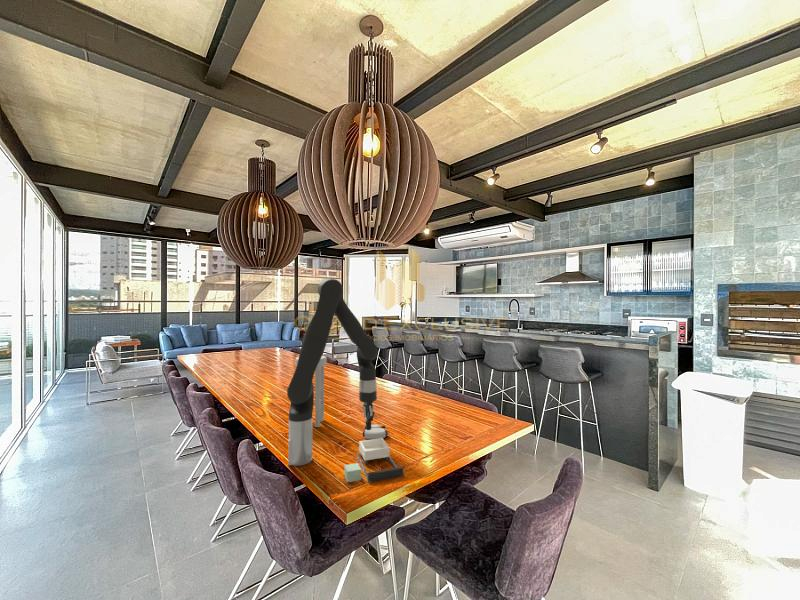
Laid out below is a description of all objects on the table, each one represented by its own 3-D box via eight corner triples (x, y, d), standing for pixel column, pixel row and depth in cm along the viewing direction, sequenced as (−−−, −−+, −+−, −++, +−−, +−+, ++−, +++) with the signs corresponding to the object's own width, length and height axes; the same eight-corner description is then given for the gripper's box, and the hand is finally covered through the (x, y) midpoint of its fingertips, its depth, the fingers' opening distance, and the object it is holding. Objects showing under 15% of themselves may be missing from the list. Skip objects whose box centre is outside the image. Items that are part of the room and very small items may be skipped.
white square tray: (364, 465, 128) (364, 451, 128) (359, 454, 137) (359, 441, 137) (389, 461, 131) (389, 447, 131) (382, 451, 141) (382, 437, 141)
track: (368, 485, 116) (368, 474, 116) (355, 458, 137) (355, 448, 137) (403, 479, 120) (403, 468, 120) (385, 453, 141) (385, 443, 141)
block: (346, 486, 116) (346, 471, 116) (344, 478, 121) (344, 465, 121) (361, 483, 118) (361, 469, 118) (358, 476, 123) (358, 462, 123)
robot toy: (362, 432, 166) (361, 443, 151) (362, 423, 166) (361, 432, 151) (387, 432, 167) (388, 442, 152) (387, 422, 167) (388, 432, 152)
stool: (291, 429, 168) (292, 359, 168) (300, 418, 183) (300, 355, 183) (322, 429, 168) (323, 359, 168) (328, 418, 184) (328, 354, 184)
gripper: (356, 386, 150) (357, 425, 150) (362, 394, 137) (363, 436, 137) (372, 385, 152) (373, 423, 152) (380, 392, 139) (380, 433, 139)
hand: (368, 429), depth 144 cm, fingers closed
